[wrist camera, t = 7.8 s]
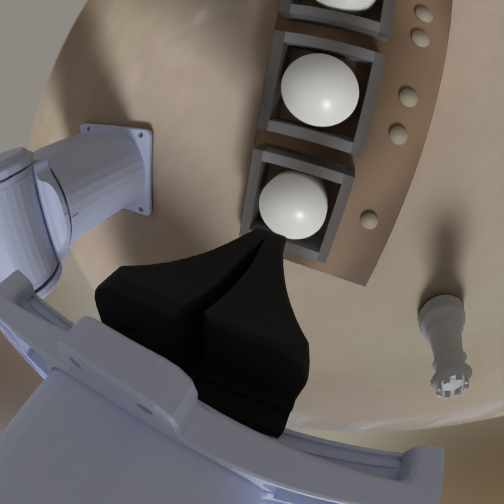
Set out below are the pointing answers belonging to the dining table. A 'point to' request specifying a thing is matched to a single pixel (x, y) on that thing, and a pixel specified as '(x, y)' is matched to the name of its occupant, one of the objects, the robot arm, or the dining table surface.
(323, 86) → the button
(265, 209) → the button
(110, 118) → the dining table surface
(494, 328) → the dining table surface
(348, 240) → the button panel
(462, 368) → the rook chess piece
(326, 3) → the button
